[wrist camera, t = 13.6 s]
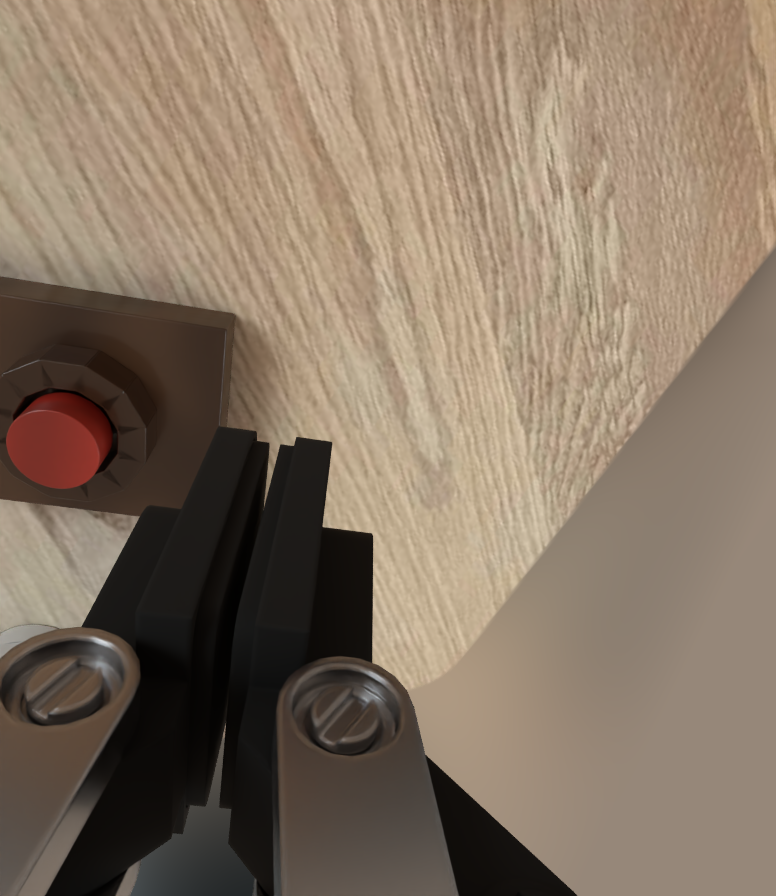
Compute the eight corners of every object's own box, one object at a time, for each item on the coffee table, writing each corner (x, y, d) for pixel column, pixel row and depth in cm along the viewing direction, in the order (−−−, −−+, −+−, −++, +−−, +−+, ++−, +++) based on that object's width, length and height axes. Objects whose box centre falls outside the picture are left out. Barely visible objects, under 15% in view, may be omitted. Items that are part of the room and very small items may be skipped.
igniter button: (112, 398, 29) (98, 417, 27) (113, 473, 30) (100, 494, 29) (21, 385, 28) (1, 403, 27) (27, 461, 30) (9, 483, 28)
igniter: (235, 313, 31) (219, 344, 27) (221, 501, 35) (205, 548, 32) (-51, 267, 29) (-107, 294, 26) (-27, 469, 34) (-72, 515, 31)
